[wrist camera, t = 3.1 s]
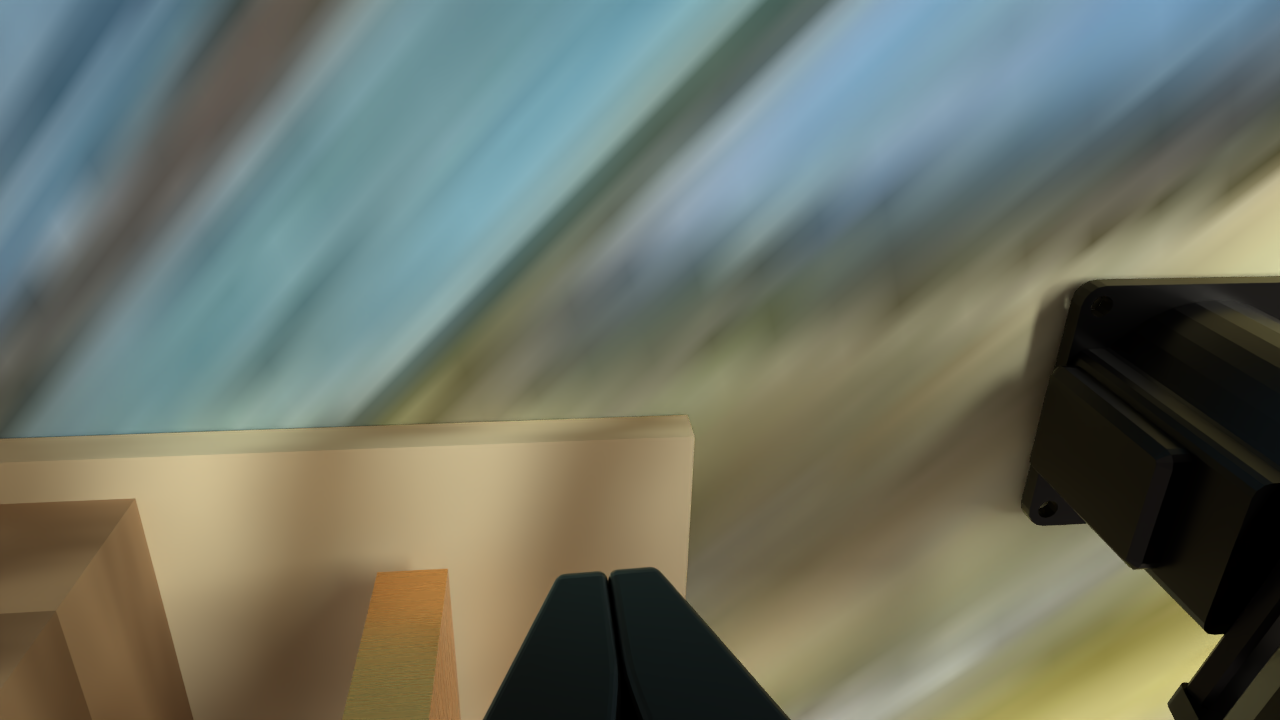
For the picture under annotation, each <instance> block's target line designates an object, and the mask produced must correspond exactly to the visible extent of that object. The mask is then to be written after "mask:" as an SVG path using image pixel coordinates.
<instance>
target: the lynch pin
mask: <svg viewBox="0 0 1280 720" xmlns="http://www.w3.org/2000/svg"><path fill="white" fill-rule="evenodd" d="M342 720H461V714H460V703H459V691H458V679H457V668H456V656H455V645H454V633H453V621H452V610H451V598H450V586H449V575H448V569H430V570H411V571H393V572H377V575H376V580H375V584H374V588H373V592H372V596H371V600H370V605H369V609H368V613H367V617H366V621H365V626H364V630H363V634H362V638H361V642H360V646H359V651H358V655H357V659H356V663H355V667H354V672H353V676H352V680H351V684H350V688H349V692H348V697H347V701H346V705H345V709H344V713H343V717H342Z"/></svg>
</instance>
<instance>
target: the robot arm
mask: <svg viewBox="0 0 1280 720" xmlns="http://www.w3.org/2000/svg"><path fill="white" fill-rule="evenodd" d="M1099 297H1102V301H1101V303H1100V305H1099V306H1098V307H1097V308H1095V309H1093V310H1091V306H1092V304H1093V302H1094V301H1095V300H1096V299H1098V298H1099ZM1030 464H1031V465H1030V469H1029V473H1028V477H1027V481H1026V485H1025V489H1024V493H1023V497H1022V501H1021V508H1022V510H1023V512H1024V513H1025V514H1026V515H1027V517H1028V518H1029V519H1030V520H1031V521H1032V522H1033V523H1035V524H1036V525H1042V526H1047V525H1067V524H1086V523H1087V524H1088V525H1089V526H1090V527H1091V528H1092V529H1093V530H1094V531H1095V532H1096V533H1097V534H1098V535H1099V536H1100V537H1101V538H1102V539H1103V541H1104V542H1105V543H1106V544H1107V545H1108V546H1109V547H1110V548H1111V549H1112V550H1113V551H1114V552H1115V553H1116V554H1117V555H1118V556H1119V557H1120V558H1121V559H1122V560H1123V561H1124V562H1125V563H1126V564H1127V565H1128V566H1129V567H1130V568H1132V569H1133V570H1136V569H1144V570H1145V571H1146V572H1147V573H1148V574H1149V575H1150V576H1151V577H1152V578H1153V579H1154V580H1155V581H1156V582H1157V583H1158V584H1159V585H1160V586H1161V587H1162V588H1163V589H1164V590H1165V591H1166V592H1167V593H1168V594H1169V595H1170V596H1171V597H1172V598H1173V599H1174V600H1175V601H1176V602H1177V603H1178V604H1179V605H1180V606H1181V607H1182V608H1183V609H1184V610H1185V611H1186V612H1187V613H1188V614H1189V615H1190V616H1191V617H1192V618H1193V619H1194V620H1195V621H1196V622H1197V623H1198V624H1199V625H1200V626H1201V627H1202V628H1203V629H1204V631H1205V632H1206V633H1207V634H1213V635H1216V634H1224V636H1223V637H1222V638H1221V640H1220V641H1219V642H1218V644H1217V645H1216V646H1215V648H1214V649H1213V651H1212V652H1211V653H1210V655H1209V656H1208V657H1207V659H1206V660H1205V662H1204V663H1203V664H1202V666H1201V667H1200V668H1199V670H1198V671H1197V672H1196V674H1195V675H1194V677H1193V678H1192V679H1191V681H1190V682H1189V683H1182V684H1181V685H1180V687H1179V688H1178V689H1177V691H1176V692H1175V693H1174V695H1173V696H1172V698H1171V699H1170V700H1169V702H1168V707H1169V709H1170V711H1171V713H1172V715H1173V717H1174V719H1175V720H1280V276H1268V277H1213V278H1158V279H1103V280H1093V281H1089V282H1087V283H1085V284H1083V285H1082V286H1080V288H1079V289H1078V290H1077V291H1076V292H1075V294H1074V296H1073V298H1072V300H1071V304H1070V308H1069V312H1068V316H1067V320H1066V324H1065V328H1064V332H1063V336H1062V340H1061V344H1060V348H1059V352H1058V356H1057V360H1056V364H1055V368H1054V372H1053V373H1052V375H1051V376H1050V379H1049V383H1048V387H1047V391H1046V395H1045V399H1044V403H1043V407H1042V411H1041V416H1040V420H1039V424H1038V428H1037V432H1036V436H1035V440H1034V444H1033V448H1032V452H1031V456H1030ZM1045 502H1048V503H1047V505H1045V506H1044V507H1042V508H1040V506H1041V505H1042V504H1043V503H1045ZM483 720H791V719H790V718H789V717H788V716H787V715H786V714H785V713H784V711H783V710H782V709H781V708H780V707H779V706H778V705H777V703H776V702H775V701H774V700H773V699H772V698H771V697H770V696H769V694H768V693H767V692H766V691H765V690H764V689H763V688H762V686H761V685H760V684H759V683H758V682H757V681H756V680H755V678H754V677H753V676H752V675H751V674H750V673H749V672H748V670H747V669H746V668H745V667H744V666H743V665H742V664H741V662H740V661H739V660H738V659H737V658H736V657H735V656H734V655H733V653H732V652H731V651H730V650H729V649H728V648H727V647H726V645H725V644H724V643H723V642H722V641H721V640H720V639H719V637H718V636H717V635H716V634H715V633H714V632H713V631H712V629H711V628H710V627H709V626H708V625H707V624H706V623H705V621H704V620H703V619H702V618H701V617H700V616H699V615H698V614H697V612H696V611H695V610H694V609H693V608H692V607H691V606H690V604H689V603H688V602H687V601H686V600H685V599H684V598H683V596H682V595H681V594H680V593H679V592H678V591H677V590H676V588H675V587H674V586H673V585H672V584H671V583H670V582H669V580H668V579H667V578H666V577H665V576H664V575H663V574H662V573H661V572H660V571H659V570H658V569H656V568H654V567H642V568H630V569H617V570H614V571H612V572H611V573H610V575H609V577H608V579H607V576H606V575H605V573H603V572H601V571H593V572H580V573H568V574H562V575H560V576H558V577H557V578H556V580H555V581H554V583H553V585H552V587H551V589H550V591H549V592H548V594H547V596H546V598H545V600H544V602H543V604H542V606H541V608H540V610H539V612H538V614H537V616H536V618H535V619H534V621H533V623H532V625H531V627H530V629H529V631H528V633H527V635H526V637H525V639H524V641H523V643H522V645H521V646H520V648H519V650H518V652H517V654H516V656H515V658H514V660H513V662H512V664H511V666H510V668H509V670H508V672H507V673H506V675H505V677H504V679H503V681H502V683H501V685H500V687H499V689H498V691H497V693H496V695H495V697H494V699H493V700H492V702H491V704H490V706H489V708H488V710H487V712H486V714H485V716H484V718H483Z"/></svg>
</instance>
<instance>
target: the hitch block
mask: <svg viewBox="0 0 1280 720" xmlns="http://www.w3.org/2000/svg"><path fill="white" fill-rule="evenodd" d="M694 443H695V435H694V432H693V429H692V426H691V424H690V421H689V418H688V415H670V416H641V417H612V418H584V419H555V420H526V421H498V422H469V423H440V424H412V425H383V426H355V427H326V428H297V429H269V430H240V431H211V432H183V433H154V434H126V435H97V436H68V437H40V438H11V439H0V720H342V717H343V713H344V709H345V705H346V701H347V697H348V692H349V688H350V684H351V680H352V676H353V672H354V667H355V663H356V659H357V655H358V651H359V646H360V642H361V638H362V634H363V630H364V626H365V621H366V617H367V613H368V609H369V605H370V600H371V596H372V592H373V588H374V584H375V580H376V575H377V572H393V571H411V570H430V569H448V575H449V586H450V598H451V610H452V621H453V633H454V645H455V656H456V668H457V679H458V691H459V703H460V714H461V720H483V718H484V716H485V714H486V712H487V710H488V708H489V706H490V704H491V702H492V700H493V699H494V697H495V695H496V693H497V691H498V689H499V687H500V685H501V683H502V681H503V679H504V677H505V675H506V673H507V672H508V670H509V668H510V666H511V664H512V662H513V660H514V658H515V656H516V654H517V652H518V650H519V648H520V646H521V645H522V643H523V641H524V639H525V637H526V635H527V633H528V631H529V629H530V627H531V625H532V623H533V621H534V619H535V618H536V616H537V614H538V612H539V610H540V608H541V606H542V604H543V602H544V600H545V598H546V596H547V594H548V592H549V591H550V589H551V587H552V585H553V583H554V581H555V580H556V578H557V577H558V576H560V575H562V574H568V573H580V572H593V571H601V572H603V573H605V575H606V576H607V579H608V577H609V575H610V573H611V572H612V571H614V570H617V569H630V568H642V567H654V568H656V569H658V570H659V571H660V572H661V573H662V574H663V575H664V576H665V577H666V578H667V579H668V580H669V582H670V583H671V584H672V585H673V586H674V587H675V588H676V590H677V591H678V592H679V593H680V594H681V595H682V596H683V598H684V599H685V598H686V581H687V564H688V547H689V529H690V512H691V495H692V478H693V460H694Z"/></svg>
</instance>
